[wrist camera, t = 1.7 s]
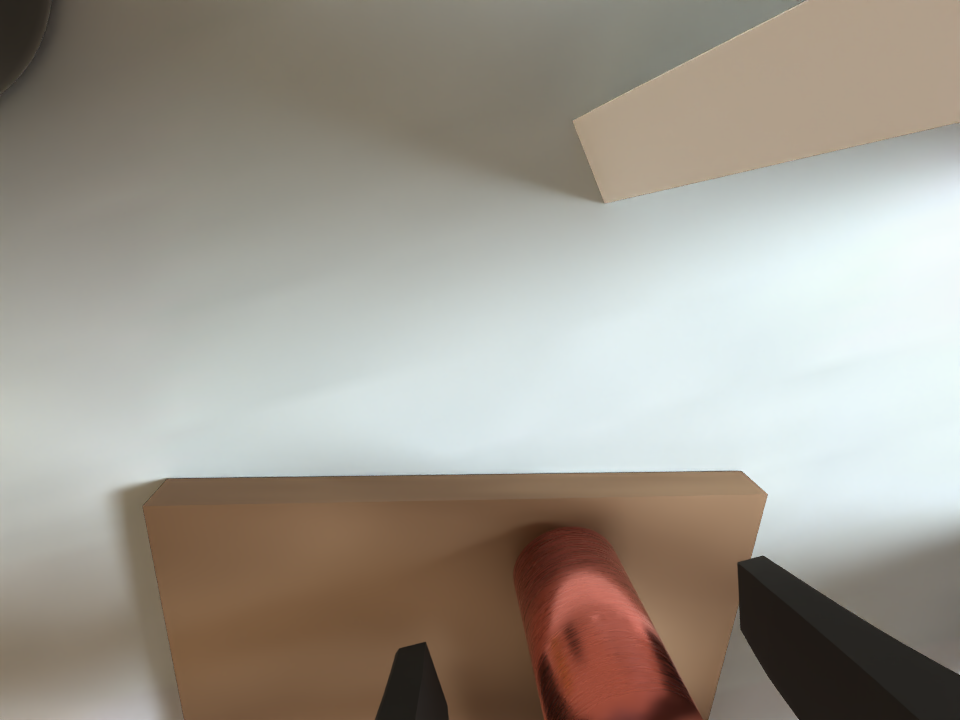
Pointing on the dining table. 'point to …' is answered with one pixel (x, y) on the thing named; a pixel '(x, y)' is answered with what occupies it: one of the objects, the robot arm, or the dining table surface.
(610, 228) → the dining table surface
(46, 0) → the supplement bottle
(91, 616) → the dining table surface
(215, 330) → the dining table surface
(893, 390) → the dining table surface
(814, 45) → the white bracket plate
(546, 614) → the lever
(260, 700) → the cracker base
